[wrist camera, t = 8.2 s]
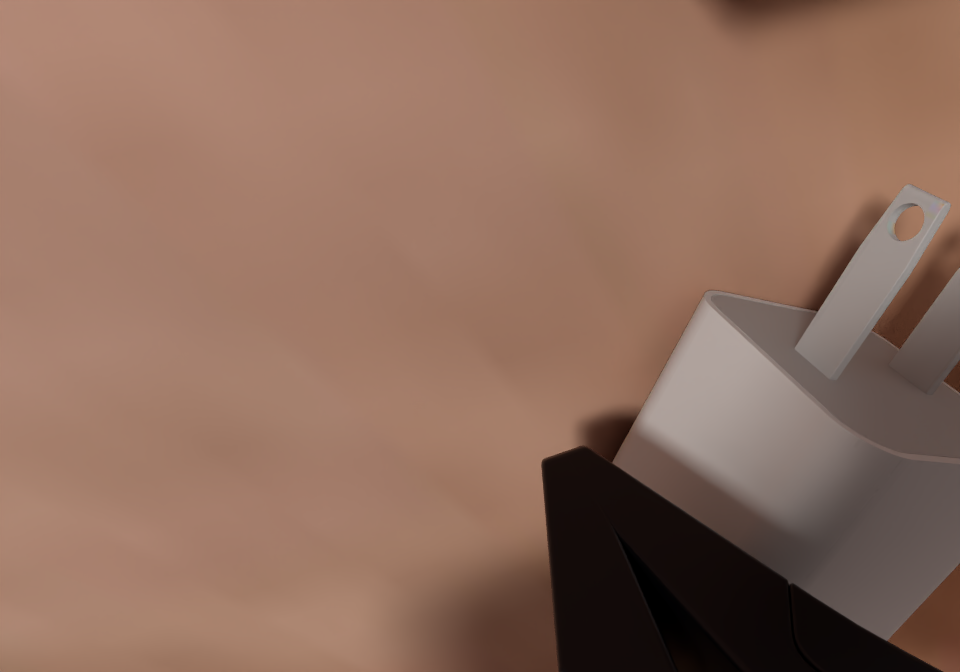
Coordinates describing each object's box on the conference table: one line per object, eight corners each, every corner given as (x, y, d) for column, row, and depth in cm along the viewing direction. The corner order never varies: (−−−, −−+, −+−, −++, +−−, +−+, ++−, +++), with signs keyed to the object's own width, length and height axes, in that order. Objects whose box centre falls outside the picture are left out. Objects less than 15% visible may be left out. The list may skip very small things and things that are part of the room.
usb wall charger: (580, 484, 13) (691, 688, 10) (770, 124, 10) (1031, 249, 6) (741, 493, 14) (882, 670, 11) (949, 187, 11) (1228, 311, 8)
